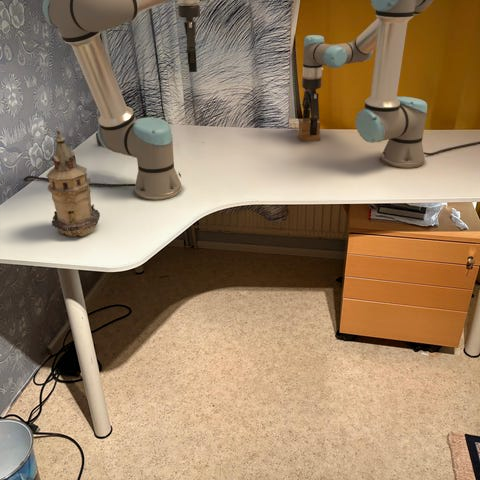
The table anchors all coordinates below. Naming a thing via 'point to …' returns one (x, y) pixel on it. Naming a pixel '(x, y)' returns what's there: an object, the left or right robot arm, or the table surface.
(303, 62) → the right robot arm
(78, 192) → the miniature building
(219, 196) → the table surface
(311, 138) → the block
